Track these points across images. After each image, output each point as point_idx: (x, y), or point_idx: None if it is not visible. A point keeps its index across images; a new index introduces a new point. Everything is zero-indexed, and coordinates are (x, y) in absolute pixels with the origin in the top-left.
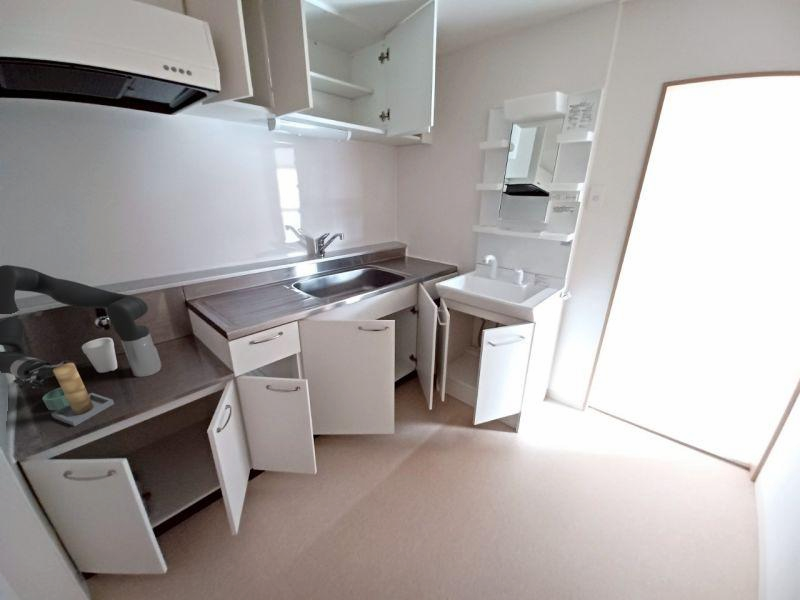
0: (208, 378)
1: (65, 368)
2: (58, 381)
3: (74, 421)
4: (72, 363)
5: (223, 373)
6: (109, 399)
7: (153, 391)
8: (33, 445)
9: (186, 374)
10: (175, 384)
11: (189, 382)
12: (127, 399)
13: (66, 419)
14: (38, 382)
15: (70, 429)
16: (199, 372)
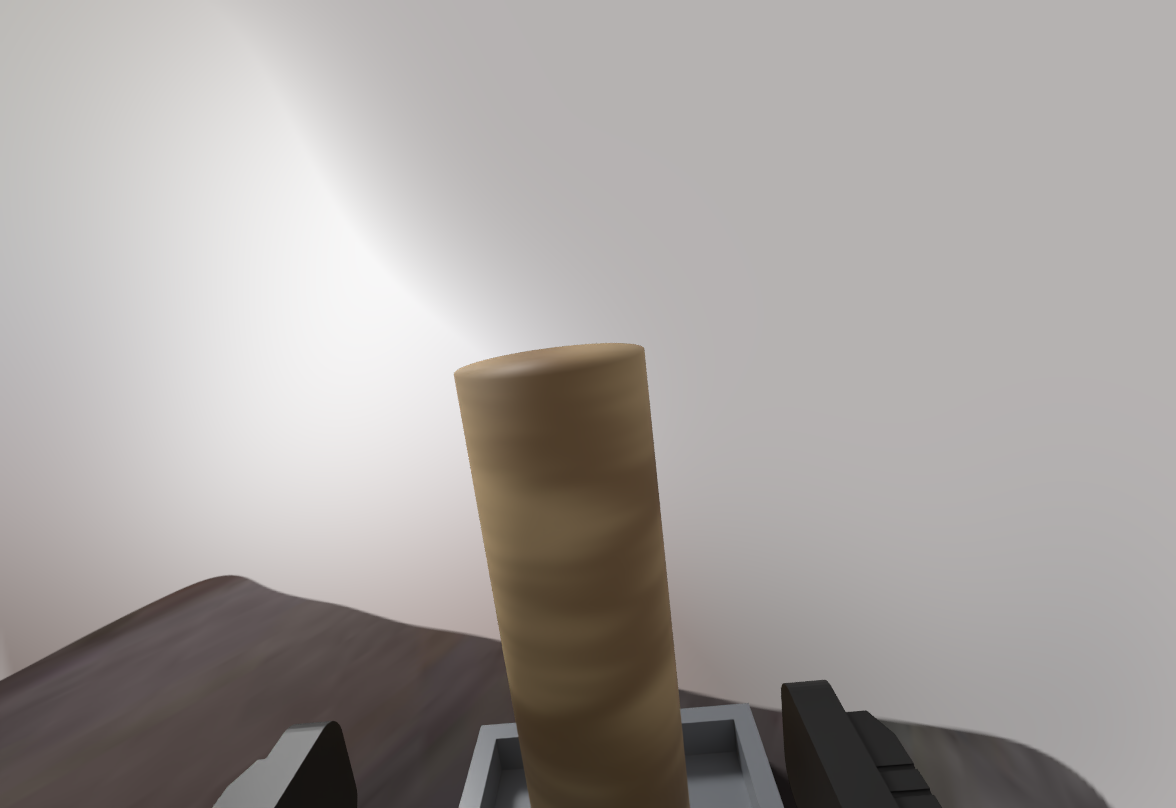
0: (242, 596)
1: (564, 350)
2: (658, 501)
3: (738, 709)
4: (464, 368)
5: (210, 582)
6: (482, 748)
7: (330, 702)
8: (1013, 801)
9: (141, 698)
10: (266, 664)
11: (261, 629)
12: (419, 760)
13: (770, 769)
14: (842, 729)
15: (780, 760)
16: (146, 659)
